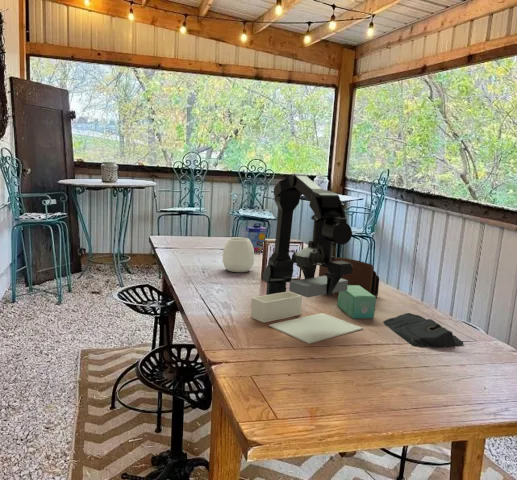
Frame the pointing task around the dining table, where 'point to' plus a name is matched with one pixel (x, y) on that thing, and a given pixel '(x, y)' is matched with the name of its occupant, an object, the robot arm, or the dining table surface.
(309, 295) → the grey rectangular block
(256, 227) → the ink cartridge box
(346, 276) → the letter holder
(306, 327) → the pale cream mat
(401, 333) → the dark slate chunk
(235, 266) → the cream rounded pot
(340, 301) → the box
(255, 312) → the base
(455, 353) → the dining table surface
